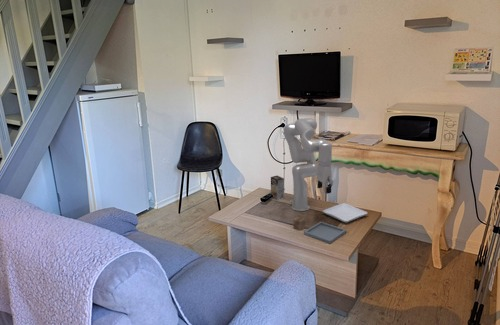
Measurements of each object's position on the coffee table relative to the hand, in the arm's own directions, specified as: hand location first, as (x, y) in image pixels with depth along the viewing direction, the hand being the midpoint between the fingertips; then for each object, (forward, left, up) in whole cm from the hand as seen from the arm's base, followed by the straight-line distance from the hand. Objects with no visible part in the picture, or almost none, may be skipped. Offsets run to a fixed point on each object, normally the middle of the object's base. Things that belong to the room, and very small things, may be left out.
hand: (324, 190), depth 216 cm
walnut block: (-11, -10, -24) cm, 29 cm away
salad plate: (+1, +24, -25) cm, 34 cm away
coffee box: (-54, +21, -25) cm, 63 cm away
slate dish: (+5, -6, -24) cm, 26 cm away
